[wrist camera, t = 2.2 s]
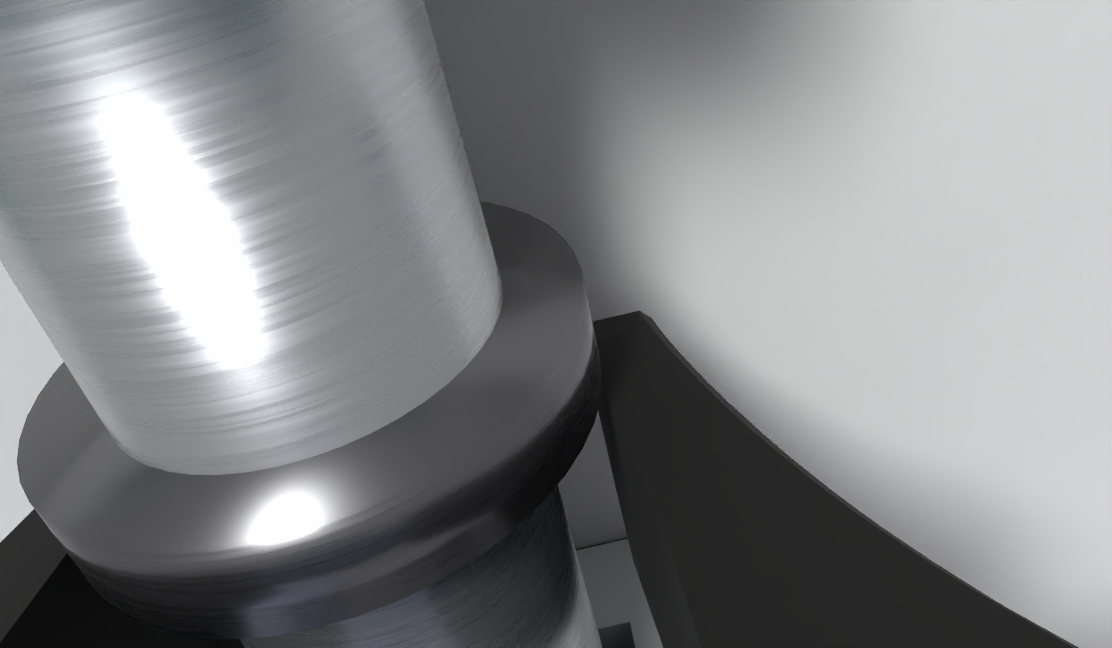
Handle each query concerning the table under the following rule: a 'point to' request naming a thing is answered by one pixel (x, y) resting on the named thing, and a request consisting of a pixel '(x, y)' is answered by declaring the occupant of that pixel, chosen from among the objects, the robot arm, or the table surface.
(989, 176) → the table surface
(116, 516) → the silver cylinder
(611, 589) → the sleeve
